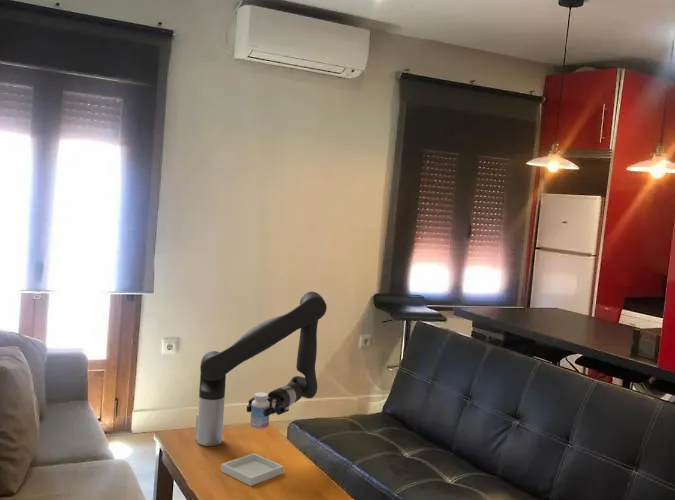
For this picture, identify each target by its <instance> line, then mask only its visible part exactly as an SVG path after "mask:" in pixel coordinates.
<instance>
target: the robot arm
mask: <svg viewBox="0 0 675 500" xmlns="http://www.w3.org/2000/svg"><path fill="white" fill-rule="evenodd" d="M327 309H328V308H327V303H326V301H325V299H324V298H323V296H321V295H320V294H319V293H318V292H315V291H309V292H306V293H304V294H303V296H302V297H301V298H300V301H299V305H297V307H295V308H293V309H292V310H290V311H288V312H287V313H285V314H282V315H278V316H275V317H272V318H269V319H266V320H264V321H263V322H261V323H258V324H257V325H256V326H254V327H252V328H250V329H249V330H248V331H247V332H245V333H244V334H243V335H242V336H241V337H240V338H239V339H237V340H236V342H234V343H233V344H232V345H230V346H229V347H227V348H226V349H224V350H222V351H220V352H219V351H216V350H214V351H213V350H212V351H209V352H207V353H205V354H204V355H203V357H202V359H201V360H200V361H201V362H200V368H199V370H200V376H199V390H198V391H199V392H198V393H199V394H198V411H197V414H196V416H195V417H196V419H195V435H194V436H195V441H196V443H197V444H199V445H201V446H204V447H206V446H207V447H213V446H214V447H215V446H219V445H221V444H222V443H223V436H224V435H223V434H224V432H223V431H224V418H225V417H224V415H225V414H224V412H225V395H226V382H227V381H226V378H227V374H228V373H230V372H231V371H232V370H233V369H235V368H236V367H238V366H239V365H240V364H243V363H245V362H247V361H248V360H250V359H252V358H254V357H255V356H257V355H260V353H263V352H264V351H265V352H266V350H268V349H270V348H271V347H273V346H275V345H276V344H277V343H279V342H281V341H282V340H284V339H286V338H287V337H289V336H290V335H292V334H293V333H294V332H296V331H298V330H300V333H299V334H300V335H299V340H298V348H297V357H296V365H295V368H296V370H297V372H299V373H301V374H302V375H303V376H304V377H303V376H299V375H296V376H293V377H291V379H290V380H289V382H288V383H287V384H285V385H283V386H280V387H278V388H276V389H273V390H272V391H270V392H269V393H267V394H268V399H267V400H268V401H269V403H270V407H269V408H267V409H266V410H265V411H264V416H266V417H267V416H268V415H269V416H270V415H275V414H276V415H277V416H279V415H283V414H285V413H287V412H289V411H290V410H289V409H290V407H291V406H292V405H293V404H295V403H296V402H298V401H300V399H302V398H305V399H313V398H314V397H315V396H316V394H317V392H318V381H317V375H316V373H317V372H316V363H317V362H316V361H317V355H318V352H317V351H318V346H317V344H318V343H317V342H318V341H317V340H318V338H317V337H318V336H317V335H318V325H319V324H318V323H319V320H320V319H322V318H323V317H324V315H326V312H327ZM253 400H255V399H254V396H253V397H252V398H250V399H249V400H248V405H246V412H247V413H251V406H252V401H253Z"/></svg>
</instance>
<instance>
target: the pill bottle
mask: <svg viewBox="0 0 675 500" xmlns="http://www.w3.org/2000/svg"><path fill="white" fill-rule="evenodd" d="M268 394H269V393H268V392H262V391H257V392H255V393H254V396H253V397H254V399H255V400H253V401H252V406H251V412H250V424H249V425H250V428H251V429H253V430H254V429H255V430H267V429H268V428H269V424H270V423H269V421H270V415H268V416H267V417H266V416H264V411H265V410H266V409H267V408H269V407H270V403H269V401H268V400H267V399H268Z"/></svg>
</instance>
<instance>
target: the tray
mask: <svg viewBox="0 0 675 500" xmlns="http://www.w3.org/2000/svg"><path fill="white" fill-rule="evenodd" d="M220 466H221V467H220V472H222V473H224V474H226V475H227V476H230V477H232V478H233V479H236V480H238V481H240V482H242V483H244V484H246V485H248V486H250V487H251V486H254V485H257V484H259V483H262V482H264V481H268V480H270V479H272V478H276V477H277V476H280V475H283V474H284V467H285V466H283V465H282V464H280V463H277V462H275V461H272V460H271V459H269V458H266V457H263V455H262V456H261V455H259V454H257V453H254V452H253V453H250V454H248V455H247V454H246V455H244V456H241V457H238V458H235V459H233V460H229V461H227V462H223V463H221V465H220Z"/></svg>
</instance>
